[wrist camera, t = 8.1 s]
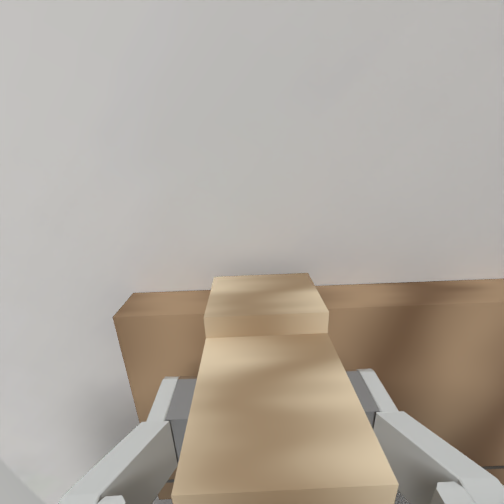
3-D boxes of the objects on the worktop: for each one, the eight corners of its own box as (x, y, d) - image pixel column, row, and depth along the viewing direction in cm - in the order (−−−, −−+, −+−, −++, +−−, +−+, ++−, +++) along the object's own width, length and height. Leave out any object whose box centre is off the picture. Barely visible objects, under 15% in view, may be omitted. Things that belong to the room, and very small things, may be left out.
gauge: (307, 273, 11) (406, 453, 4) (299, 463, 15) (343, 707, 8) (214, 276, 11) (164, 465, 4) (231, 466, 15) (220, 714, 8)
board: (632, 273, 12) (703, 294, 10) (545, 444, 16) (584, 482, 15) (133, 293, 12) (112, 317, 10) (169, 460, 16) (159, 500, 14)
